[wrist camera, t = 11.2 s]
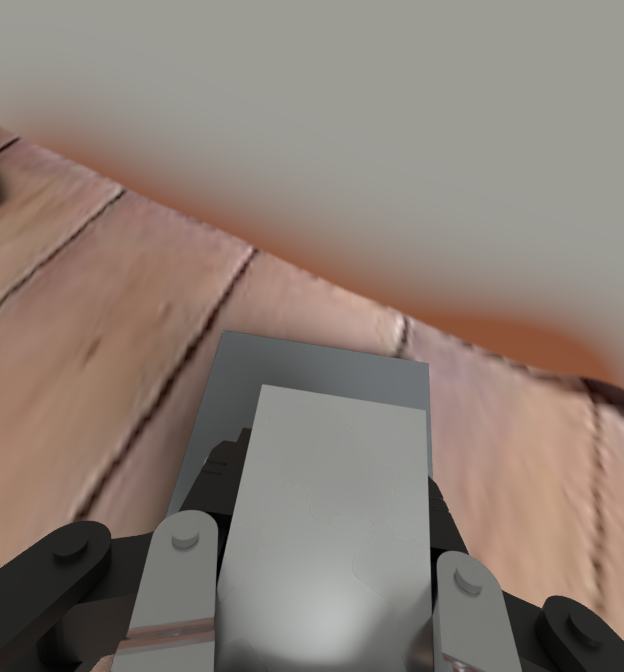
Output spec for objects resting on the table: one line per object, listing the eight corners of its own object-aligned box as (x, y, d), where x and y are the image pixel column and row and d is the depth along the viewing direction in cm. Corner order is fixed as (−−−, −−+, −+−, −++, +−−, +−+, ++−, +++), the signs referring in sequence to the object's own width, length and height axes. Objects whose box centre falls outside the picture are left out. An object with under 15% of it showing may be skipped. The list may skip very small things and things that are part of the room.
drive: (237, 613, 12) (177, 748, 5) (269, 445, 15) (260, 383, 8) (348, 630, 12) (440, 788, 5) (359, 459, 15) (427, 410, 8)
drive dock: (95, 786, 12) (-16, 949, 7) (226, 342, 20) (212, 294, 16) (428, 837, 12) (516, 1028, 7) (419, 373, 20) (456, 334, 16)
